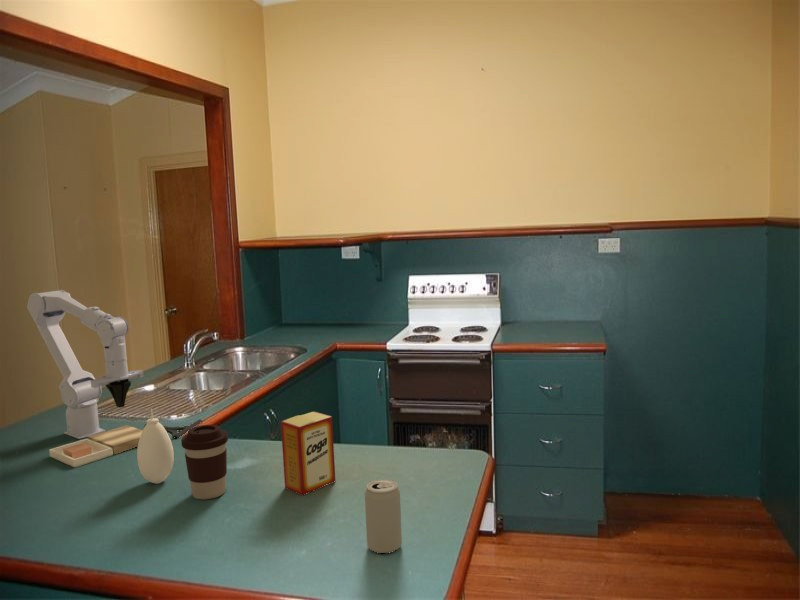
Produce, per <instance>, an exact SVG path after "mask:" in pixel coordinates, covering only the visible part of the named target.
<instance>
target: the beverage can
mask: <svg viewBox="0 0 800 600" xmlns="http://www.w3.org/2000/svg"><path fill="white" fill-rule="evenodd" d="M398 486H399V484H398V482H396V481H394V480H391V479H387V478H385V479H384V478H381V479H375V480H372V481H370V482H369V483H367V484H366V490H365V491H364V501H365V504H364V505H365V521H366V522H365V524H366V525H365V526H366V527H365V528H366V529H365V530H366V546H367V548H368V549H369V550H370V551H371V552H373V551H374V552H373V553H375V552H378V553H389V552H392V551H394V552H396V551H397V550H399V548H400V547H401V546H402V543H403V540H402V539H403V538H402V511H401V507H402V506H401V490H400V488H399V487H398ZM395 550H396V551H395ZM378 553H377V554H378ZM392 553H393V552H392ZM389 554H390V553H389Z"/></svg>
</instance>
